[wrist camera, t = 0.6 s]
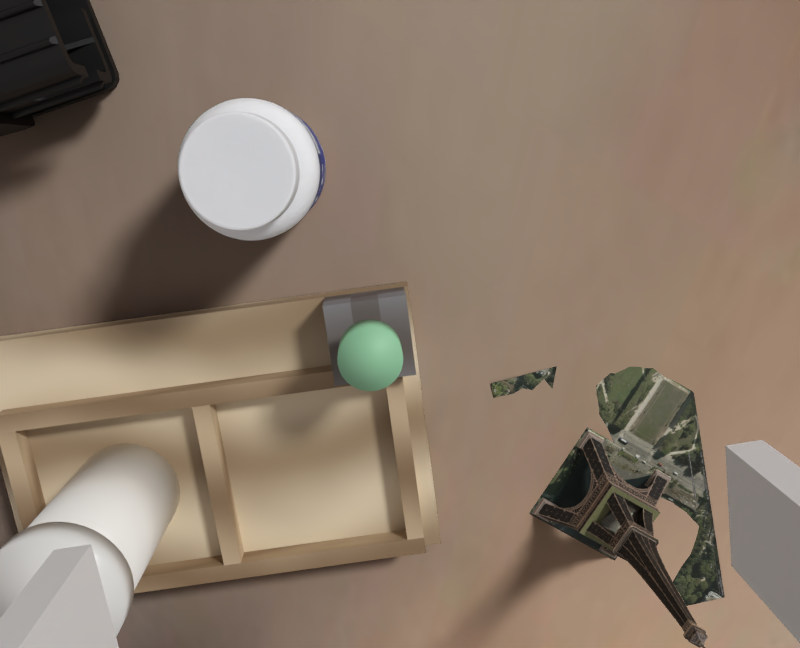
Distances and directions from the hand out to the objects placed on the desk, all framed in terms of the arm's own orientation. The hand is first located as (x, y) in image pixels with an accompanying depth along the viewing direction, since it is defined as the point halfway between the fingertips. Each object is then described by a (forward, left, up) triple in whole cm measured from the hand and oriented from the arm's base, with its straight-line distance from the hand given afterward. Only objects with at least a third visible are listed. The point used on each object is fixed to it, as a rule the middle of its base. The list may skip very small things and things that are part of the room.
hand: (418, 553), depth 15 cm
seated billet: (+6, -13, -20) cm, 25 cm away
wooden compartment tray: (+5, -9, -21) cm, 23 cm away
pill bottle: (-8, -4, -21) cm, 23 cm away
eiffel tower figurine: (+10, +10, -22) cm, 26 cm away
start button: (0, -1, -18) cm, 18 cm away
